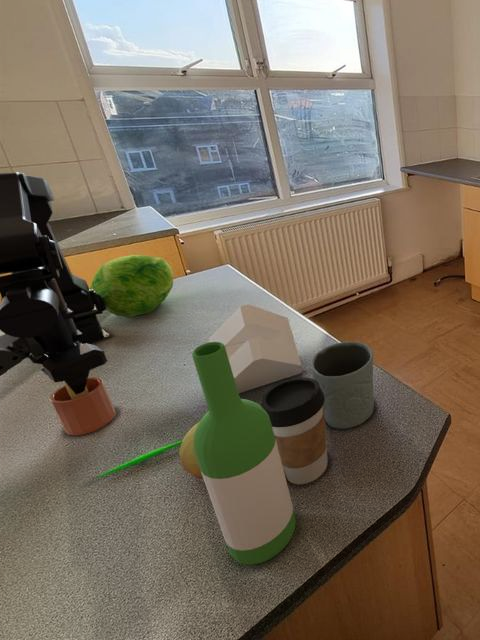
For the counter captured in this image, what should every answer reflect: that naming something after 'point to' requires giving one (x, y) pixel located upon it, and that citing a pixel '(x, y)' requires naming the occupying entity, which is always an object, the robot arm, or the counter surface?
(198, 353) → the bottle
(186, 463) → the apple
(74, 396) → the tan solid cylinder
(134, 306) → the lettuce
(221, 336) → the beige block
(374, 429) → the counter surface
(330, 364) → the grey green pot
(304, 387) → the coffee cup
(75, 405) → the cup
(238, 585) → the counter surface
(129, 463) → the leaf
